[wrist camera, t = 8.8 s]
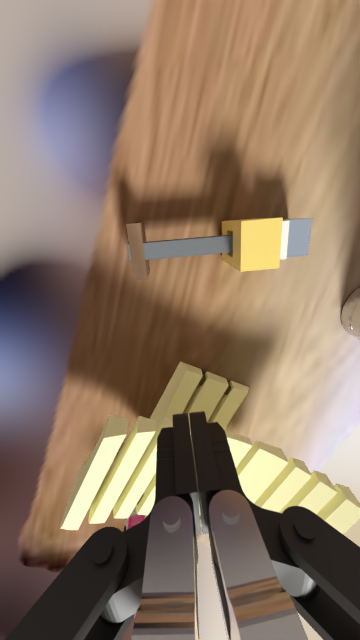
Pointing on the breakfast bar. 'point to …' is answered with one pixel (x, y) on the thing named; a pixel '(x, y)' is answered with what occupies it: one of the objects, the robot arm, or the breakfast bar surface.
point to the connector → (298, 237)
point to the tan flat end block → (138, 250)
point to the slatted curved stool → (219, 405)
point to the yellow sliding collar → (254, 243)
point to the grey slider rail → (187, 247)
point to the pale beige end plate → (284, 239)
